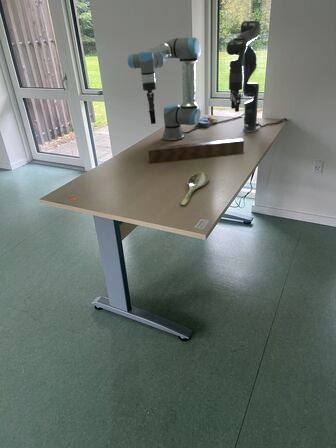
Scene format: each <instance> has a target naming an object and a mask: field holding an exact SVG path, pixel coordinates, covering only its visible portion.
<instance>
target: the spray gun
mask: <svg viewBox="0 0 336 448" xmlns="http://www.w3.org/2000/svg"><path fill="white" fill-rule="evenodd" d="M215 122H218V119H217V118H216V117H214V116H213V117H212V116H211V117H210V116H208V115H207V116H201V117H200V119H199V121H198V123H197V124H196V125H195V126H197V127H200V126H203V127H202V128H207V127H210V126H212V125H211V123H215Z"/></svg>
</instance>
